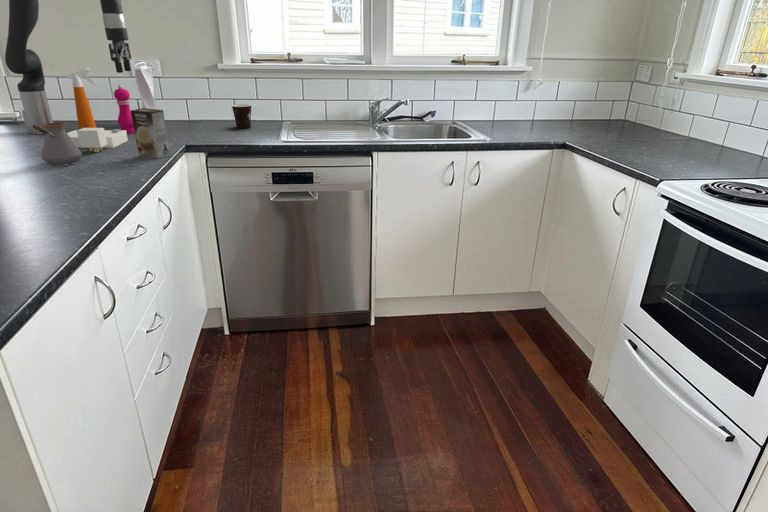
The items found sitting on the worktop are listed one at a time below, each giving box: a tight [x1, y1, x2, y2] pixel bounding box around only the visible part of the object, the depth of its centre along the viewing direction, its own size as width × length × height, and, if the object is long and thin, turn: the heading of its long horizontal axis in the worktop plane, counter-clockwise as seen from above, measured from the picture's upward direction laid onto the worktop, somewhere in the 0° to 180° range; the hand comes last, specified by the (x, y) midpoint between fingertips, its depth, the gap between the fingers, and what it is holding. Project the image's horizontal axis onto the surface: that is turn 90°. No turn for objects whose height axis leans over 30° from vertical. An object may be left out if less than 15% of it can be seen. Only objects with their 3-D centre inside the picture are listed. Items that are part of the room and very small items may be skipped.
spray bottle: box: [66, 67, 98, 130], centre depth 211 cm, size 7×11×26 cm, turn 124°
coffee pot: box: [30, 122, 82, 166], centre depth 158 cm, size 21×12×15 cm, turn 13°
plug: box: [73, 127, 107, 153], centre depth 181 cm, size 10×6×8 cm, turn 94°
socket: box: [66, 128, 129, 149], centre depth 193 cm, size 20×14×5 cm
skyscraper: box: [133, 61, 158, 110], centre depth 228 cm, size 8×8×28 cm
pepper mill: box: [113, 84, 135, 135], centre depth 212 cm, size 7×7×20 cm
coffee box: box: [130, 107, 171, 160], centre depth 174 cm, size 9×6×16 cm
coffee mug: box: [231, 103, 252, 130], centre depth 228 cm, size 12×9×10 cm
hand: (124, 71), depth 196 cm, fingers open, 8 cm apart
